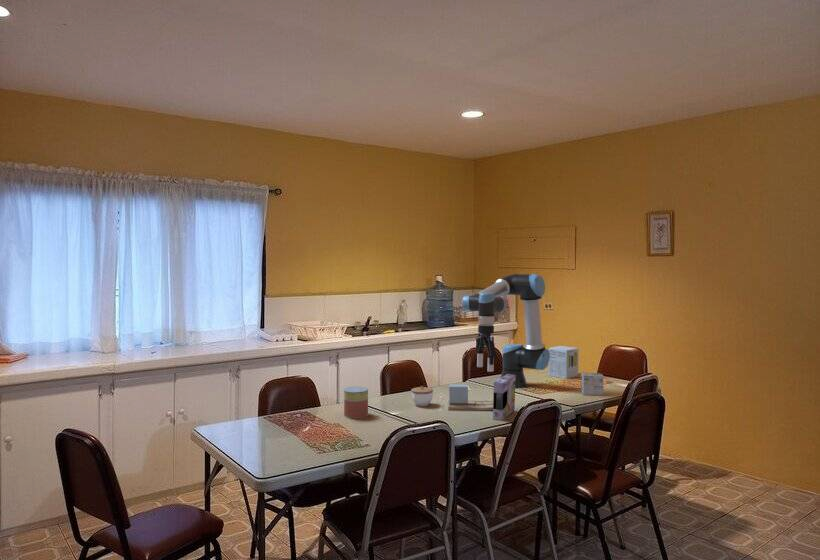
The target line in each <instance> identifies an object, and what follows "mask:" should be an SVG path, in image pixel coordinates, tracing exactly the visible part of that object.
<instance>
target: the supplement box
mask: <svg viewBox="0 0 820 560" xmlns="http://www.w3.org/2000/svg"><path fill="white" fill-rule="evenodd" d="M548 350H549V352H550V359H549V363H548V376H549V377H554V378H559V377H560V379H565V378H566V379H571V377H572V378H575V376H576V377H579V348H578V347H574V346H573V347H572V346H565V345H558V346H557V345H556V346H553V347H549V348H548ZM566 379H565V380H566Z"/></svg>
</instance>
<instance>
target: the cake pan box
mask: <svg viewBox="0 0 820 560" xmlns="http://www.w3.org/2000/svg"><path fill="white" fill-rule="evenodd" d="M492 394H493V395H492V396H493V397H492V398H493V399H492V401H493V411H492V420H495V419H498V420H497V421H503V420H504V419H505V418H507V417H508V416H509V415H511V414H512V413H514V411H515V404H516V400H515V399H516V387H515V375H511V374H506V375H505V376H503V377H501V376H500V377H499V378H498V379H496V380H494V381H493V393H492ZM502 419H503V420H502Z"/></svg>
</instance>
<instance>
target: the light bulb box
mask: <svg viewBox="0 0 820 560" xmlns="http://www.w3.org/2000/svg"><path fill="white" fill-rule="evenodd" d="M604 388H605V387H604V375H603V374H602V373H599V372H598V373H597V372H596V373H593V372H591V373H589V372H586V373H585V372H581V394H582V393H583V394H582V395H583V396H604V395H605V394H604V393H605V392H604Z"/></svg>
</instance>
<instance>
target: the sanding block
mask: <svg viewBox="0 0 820 560" xmlns="http://www.w3.org/2000/svg"><path fill="white" fill-rule="evenodd" d="M448 385H449V386H448V387H449V388H448V389H449V398H448V399H449V405H468V401H469V399H468V398H469V385H468V384H457V383H456V384H453V383H452V384H451V383H449V384H448Z"/></svg>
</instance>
